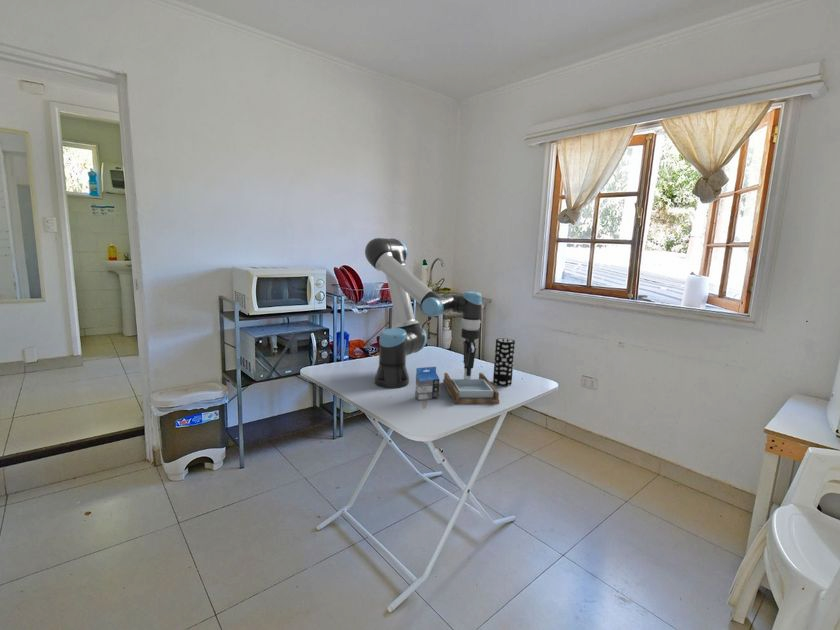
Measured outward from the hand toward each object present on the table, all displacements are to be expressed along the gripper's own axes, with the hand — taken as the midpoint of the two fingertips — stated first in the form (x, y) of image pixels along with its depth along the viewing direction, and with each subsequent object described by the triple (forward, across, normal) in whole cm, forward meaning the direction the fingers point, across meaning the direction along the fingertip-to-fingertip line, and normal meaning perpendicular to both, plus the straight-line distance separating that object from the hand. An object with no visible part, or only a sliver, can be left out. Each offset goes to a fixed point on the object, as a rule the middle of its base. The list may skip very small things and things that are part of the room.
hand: (467, 382), depth 176 cm
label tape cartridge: (+3, -10, +19) cm, 22 cm away
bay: (+3, -4, 0) cm, 5 cm away
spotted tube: (+3, +7, -18) cm, 20 cm away
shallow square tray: (+1, -8, 0) cm, 8 cm away
